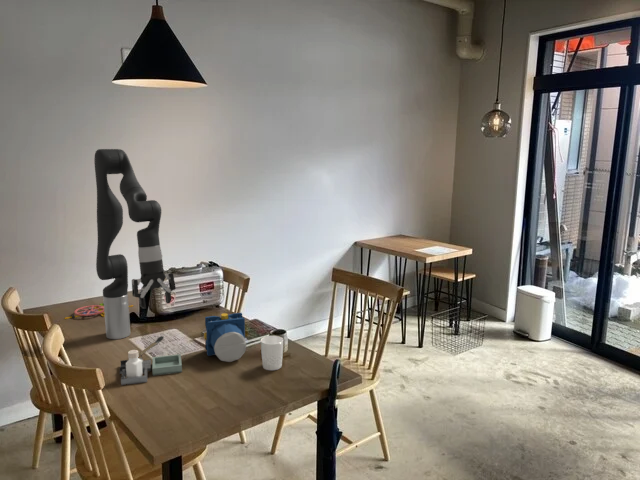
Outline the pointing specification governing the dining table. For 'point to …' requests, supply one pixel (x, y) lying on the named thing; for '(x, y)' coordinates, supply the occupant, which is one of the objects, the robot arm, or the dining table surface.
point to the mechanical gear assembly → (90, 311)
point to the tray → (167, 364)
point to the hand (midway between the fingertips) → (156, 305)
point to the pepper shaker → (133, 364)
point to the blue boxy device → (225, 336)
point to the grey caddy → (139, 379)
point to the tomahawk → (151, 345)
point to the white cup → (272, 352)
